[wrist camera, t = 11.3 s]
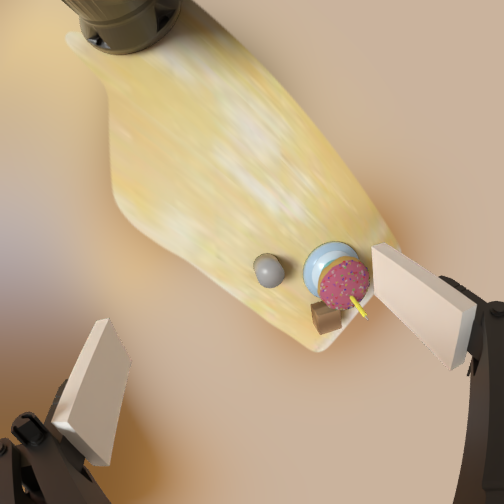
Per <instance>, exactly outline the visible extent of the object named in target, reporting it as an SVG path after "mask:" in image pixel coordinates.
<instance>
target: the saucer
mask: <svg viewBox="0 0 504 504" xmlns="http://www.w3.org/2000/svg"><path fill="white" fill-rule="evenodd" d="M342 256H350V257H355V258H357V259H358V260H359V258H358V256H357V254H356V252H355V251H354V250H353V249H352V248H351V247H350V246H348V245H347V244H345V243H342V242H338V241H332V242H327V243H324V244H322V245H320V246H318V247H317V248H316V249H314V250H313V251H312V252H311V254H310V255H309V256H308V258H307V260H306V262H305V264H304V268H303V279H304V283H305V285H306V287H307V288H308V290H309V291H310V292H311V293H312V294H313V295H315V296H316V297H319V295H318V293H317V290H318V280H319V276H320V274H321V271H322V268H323V267H324V265H325V264H326V263H328V262H329V261H331V260H335V259H337V258H339V257H342ZM319 298H320V297H319Z"/></svg>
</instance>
